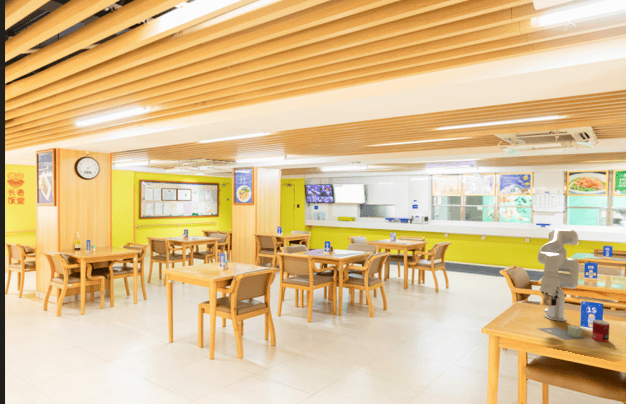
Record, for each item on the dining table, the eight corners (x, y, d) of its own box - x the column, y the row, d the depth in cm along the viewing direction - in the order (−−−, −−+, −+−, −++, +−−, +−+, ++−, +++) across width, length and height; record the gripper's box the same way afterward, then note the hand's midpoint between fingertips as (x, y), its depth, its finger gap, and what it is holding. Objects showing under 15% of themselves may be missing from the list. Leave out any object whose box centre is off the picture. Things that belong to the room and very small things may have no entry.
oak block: (543, 304, 251) (543, 294, 251) (549, 303, 253) (549, 294, 252) (550, 306, 246) (550, 296, 246) (556, 305, 248) (556, 296, 248)
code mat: (536, 329, 253) (536, 328, 253) (556, 327, 258) (556, 327, 258) (565, 340, 234) (565, 339, 234) (586, 338, 239) (586, 337, 239)
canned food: (605, 343, 231) (606, 324, 231) (589, 339, 238) (590, 320, 238) (610, 341, 236) (611, 322, 236) (595, 337, 242) (595, 319, 242)
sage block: (567, 334, 244) (567, 326, 244) (573, 333, 246) (574, 325, 246) (575, 337, 240) (575, 328, 240) (581, 336, 241) (581, 328, 241)
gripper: (534, 272, 256) (533, 300, 256) (558, 277, 240) (557, 308, 240) (544, 271, 258) (543, 300, 259) (568, 277, 242) (566, 307, 242)
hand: (549, 303), depth 249 cm, fingers closed on oak block, 5 cm apart
